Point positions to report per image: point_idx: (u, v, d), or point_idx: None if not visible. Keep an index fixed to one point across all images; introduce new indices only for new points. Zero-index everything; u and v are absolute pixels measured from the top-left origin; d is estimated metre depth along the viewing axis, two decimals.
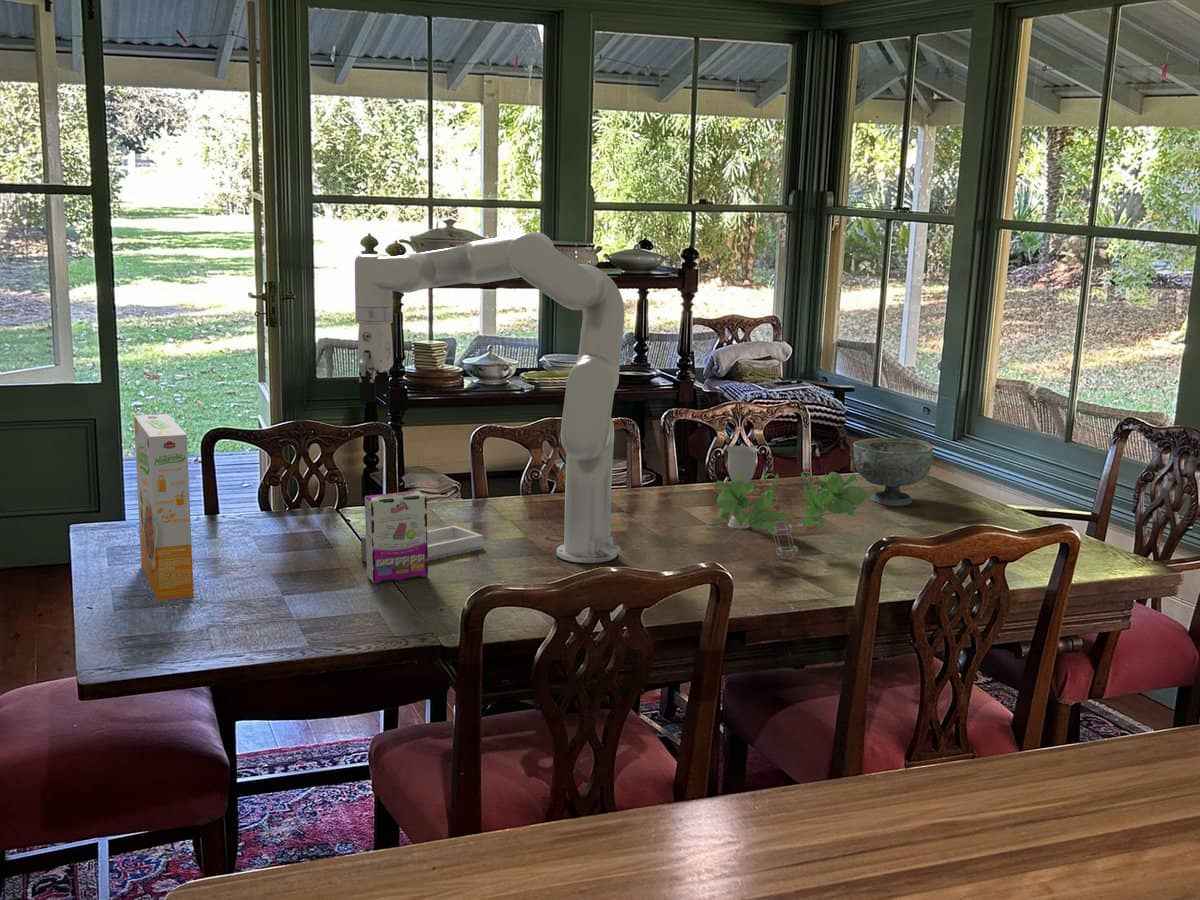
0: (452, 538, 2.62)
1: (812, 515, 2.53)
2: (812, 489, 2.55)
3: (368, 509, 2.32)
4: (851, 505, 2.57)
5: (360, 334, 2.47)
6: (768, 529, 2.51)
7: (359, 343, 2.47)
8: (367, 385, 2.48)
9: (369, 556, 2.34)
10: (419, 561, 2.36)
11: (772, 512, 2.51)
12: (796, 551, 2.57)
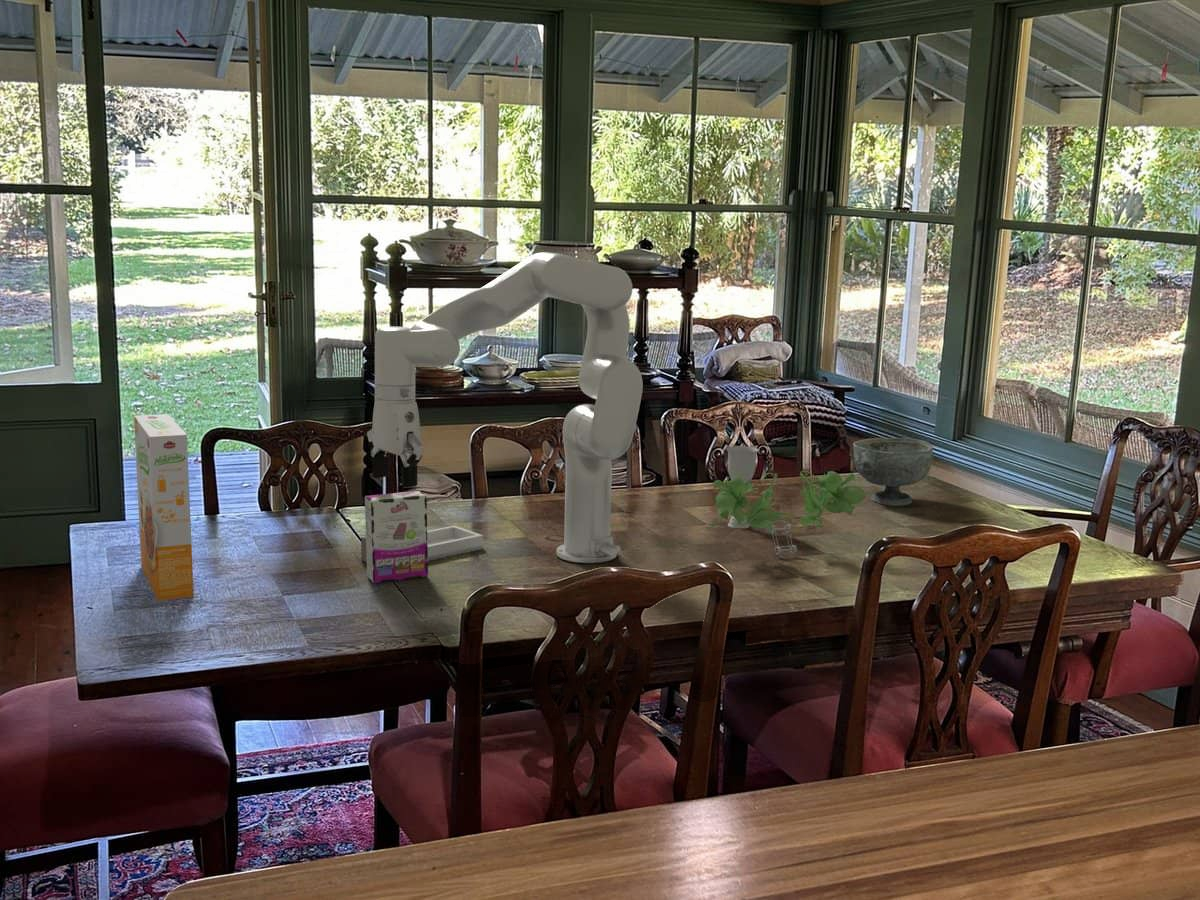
0: (452, 538, 2.62)
1: (811, 514, 2.54)
2: (811, 488, 2.56)
3: (368, 509, 2.32)
4: (849, 504, 2.58)
5: (402, 415, 2.27)
6: (767, 528, 2.52)
7: (401, 425, 2.27)
8: (413, 469, 2.29)
9: (369, 556, 2.34)
10: (419, 561, 2.36)
11: (771, 511, 2.52)
12: (795, 550, 2.58)
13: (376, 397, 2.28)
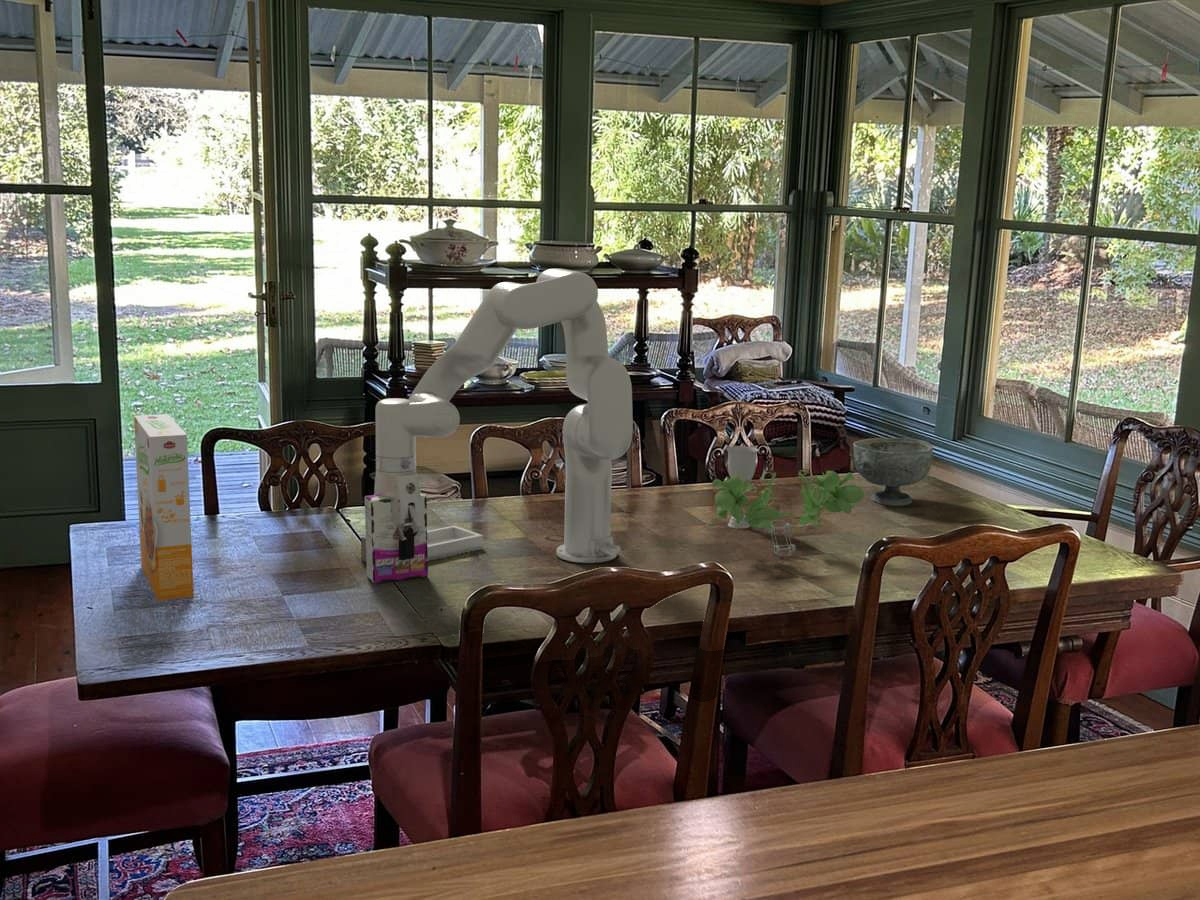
0: (452, 538, 2.62)
1: (809, 513, 2.54)
2: (809, 487, 2.57)
3: (368, 509, 2.32)
4: (848, 503, 2.59)
5: (403, 487, 2.30)
6: (765, 527, 2.52)
7: (402, 496, 2.30)
8: (410, 542, 2.33)
9: (369, 556, 2.34)
10: (419, 561, 2.36)
11: (769, 510, 2.52)
12: (793, 549, 2.58)
13: (377, 469, 2.31)
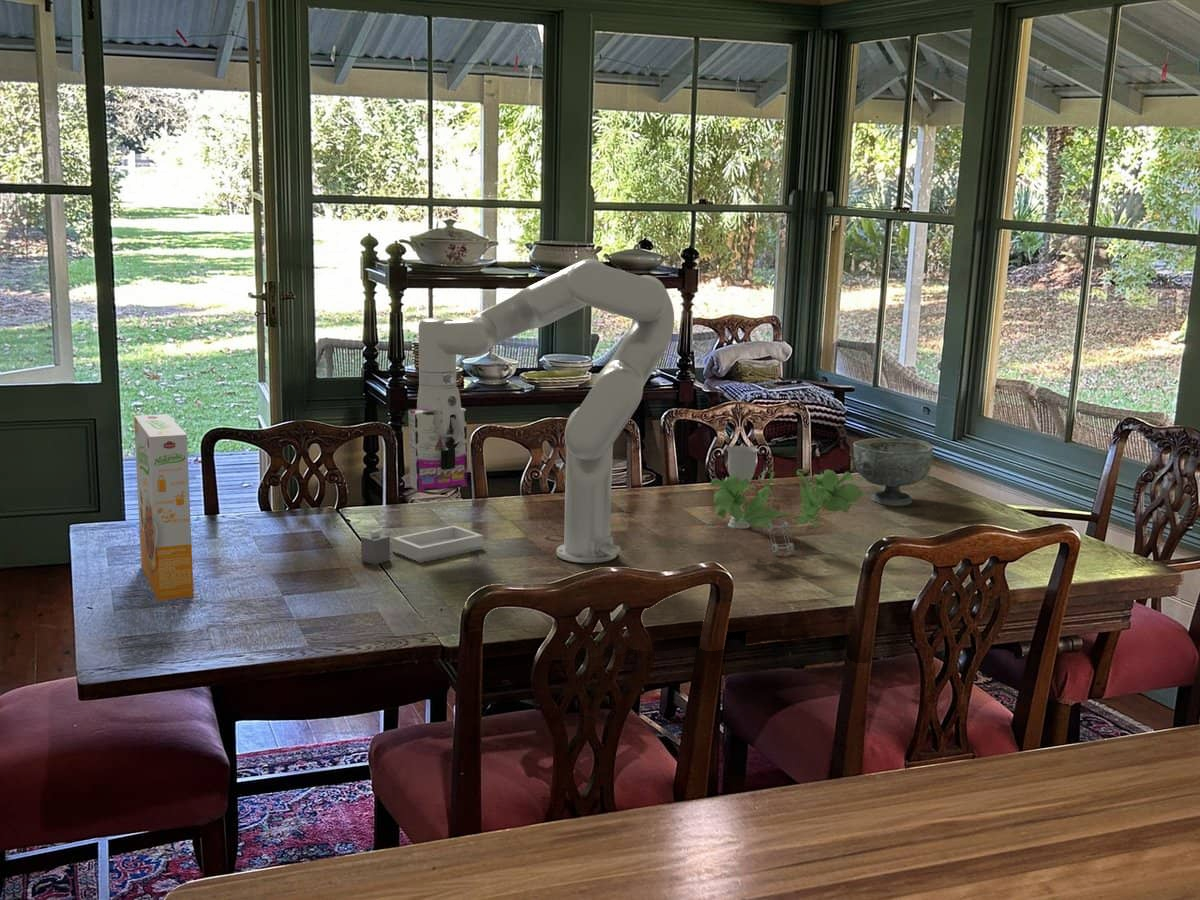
0: (452, 538, 2.62)
1: (807, 512, 2.55)
2: (807, 486, 2.58)
3: (412, 421, 2.48)
4: (846, 502, 2.59)
5: (445, 399, 2.45)
6: (764, 526, 2.53)
7: (445, 408, 2.45)
8: (451, 452, 2.49)
9: (413, 466, 2.50)
10: (459, 471, 2.52)
11: (768, 509, 2.53)
12: (792, 548, 2.59)
13: (421, 383, 2.47)
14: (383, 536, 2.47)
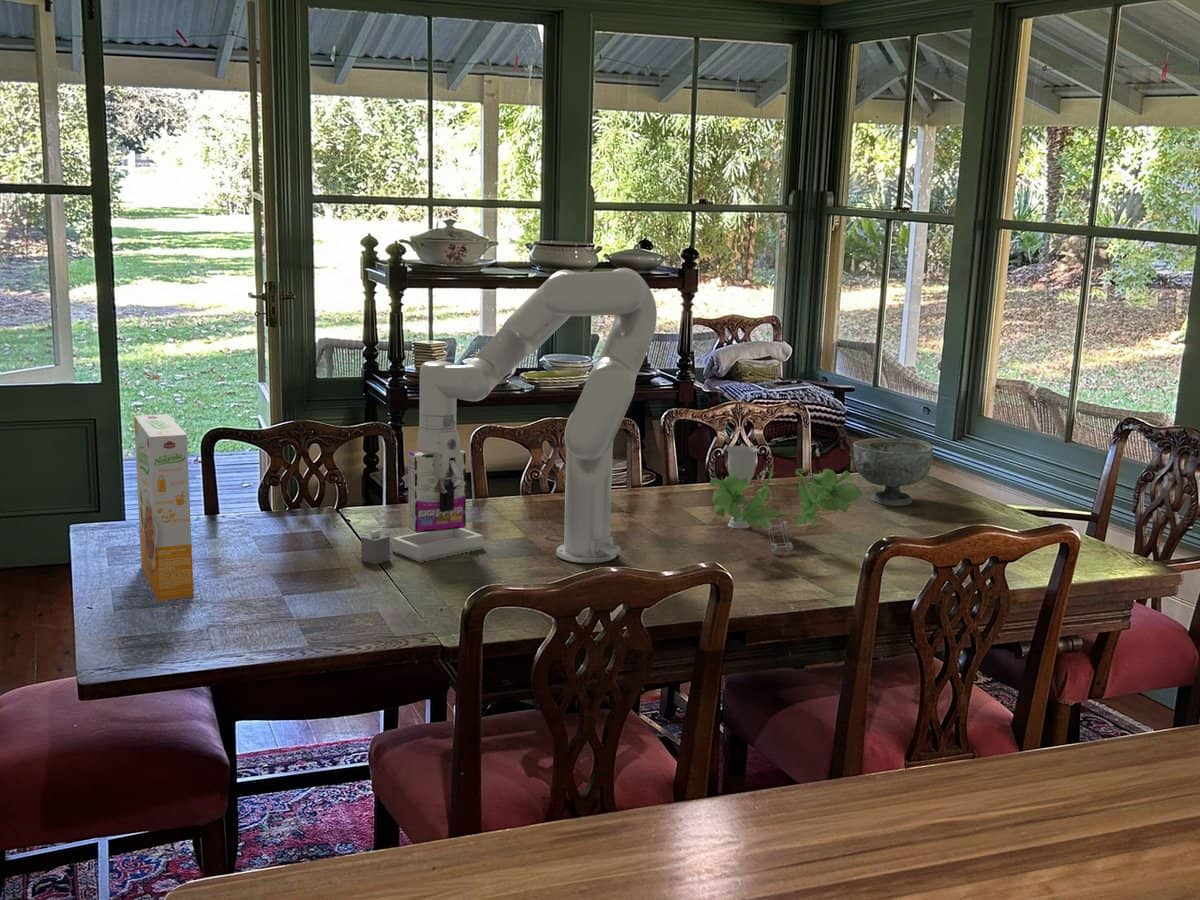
0: (452, 538, 2.62)
1: (806, 511, 2.56)
2: (806, 486, 2.58)
3: (411, 463, 2.49)
4: (845, 502, 2.60)
5: (445, 443, 2.47)
6: (763, 525, 2.54)
7: (444, 452, 2.47)
8: (450, 495, 2.51)
9: (412, 508, 2.51)
10: (457, 513, 2.54)
11: (767, 509, 2.54)
12: (790, 547, 2.60)
13: (421, 426, 2.49)
14: (383, 536, 2.47)
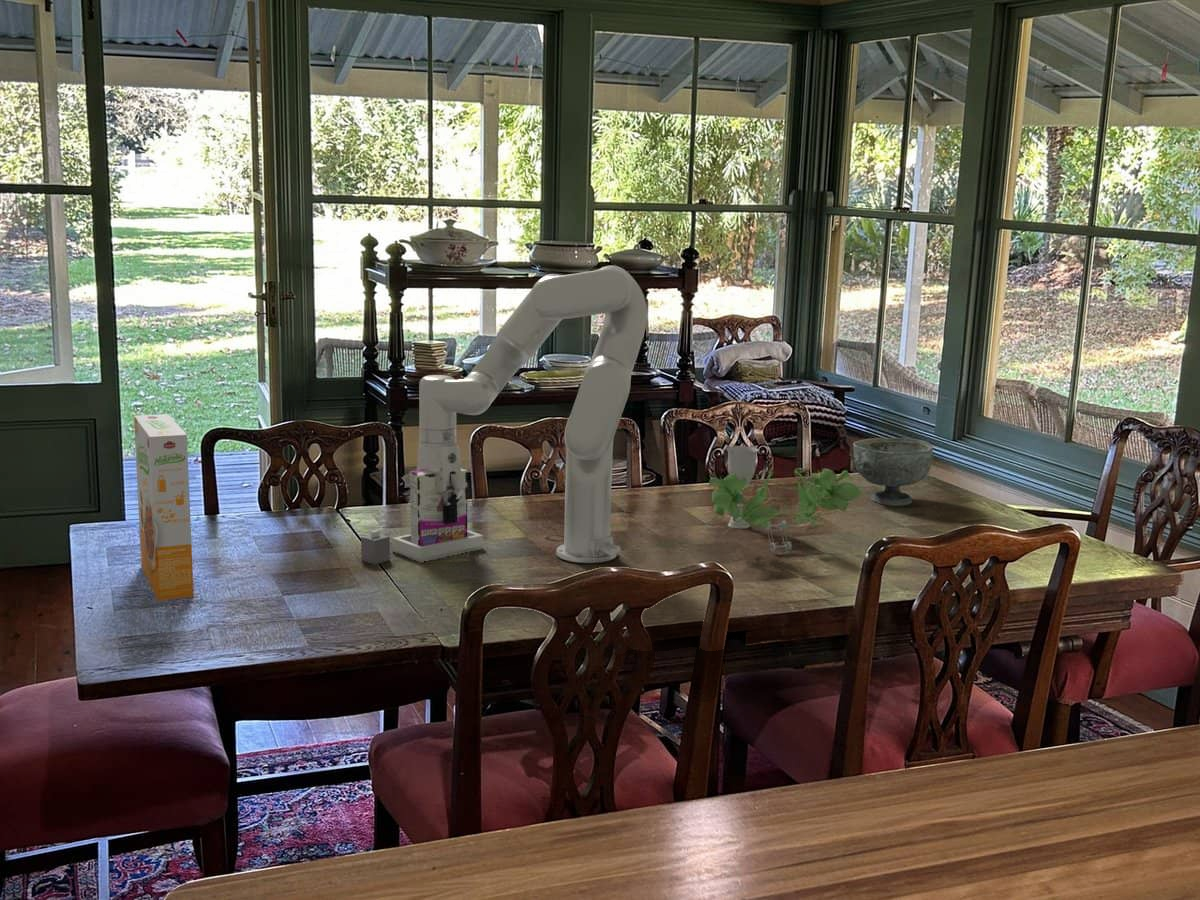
0: None
1: (805, 511, 2.56)
2: (805, 485, 2.59)
3: (414, 483, 2.50)
4: (844, 501, 2.60)
5: (445, 457, 2.48)
6: (762, 525, 2.54)
7: (444, 466, 2.48)
8: (453, 507, 2.51)
9: (414, 527, 2.52)
10: (459, 531, 2.55)
11: (766, 508, 2.54)
12: (789, 546, 2.60)
13: (421, 440, 2.49)
14: (383, 536, 2.47)
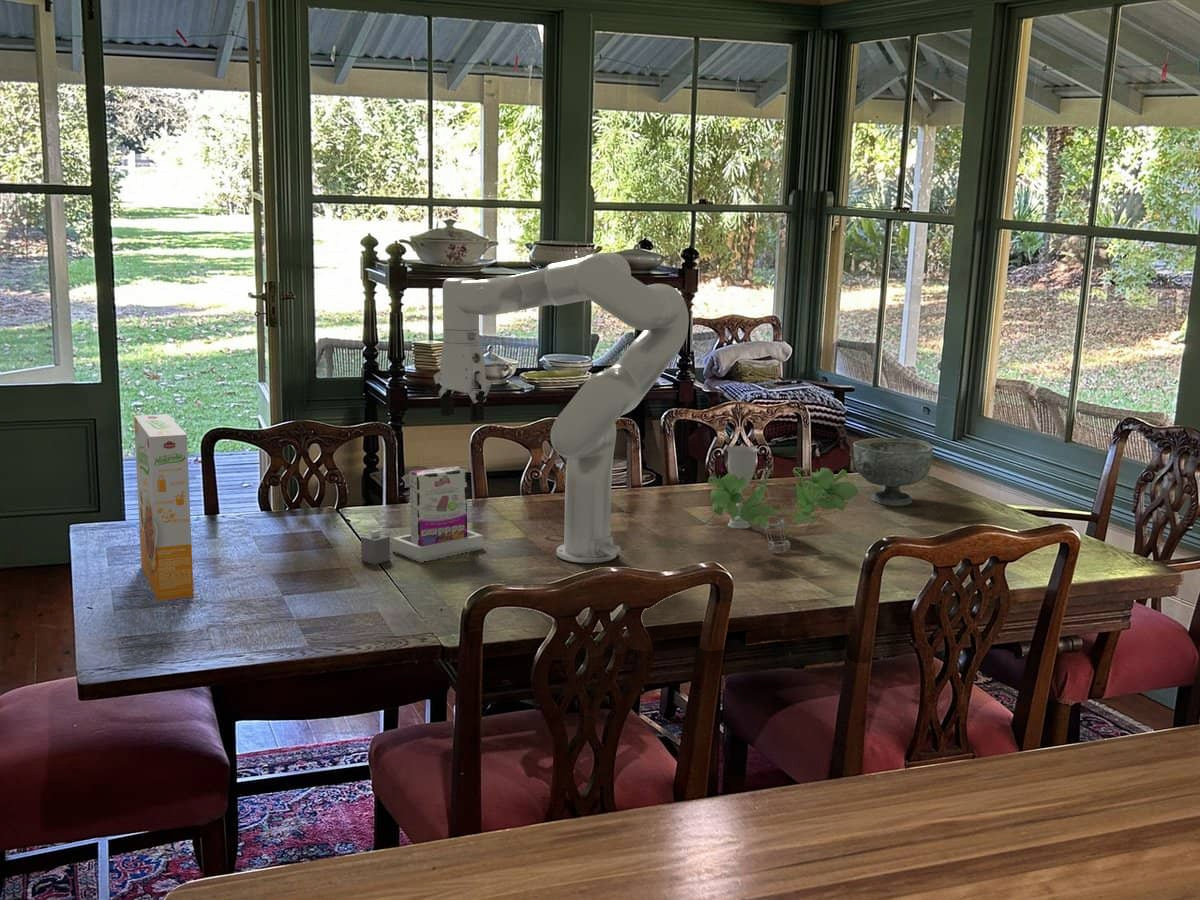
0: None
1: (804, 510, 2.57)
2: (804, 484, 2.60)
3: (413, 483, 2.50)
4: (842, 500, 2.61)
5: (470, 356, 2.53)
6: (760, 524, 2.55)
7: (470, 365, 2.53)
8: (481, 404, 2.56)
9: (414, 527, 2.52)
10: (459, 531, 2.55)
11: (764, 507, 2.55)
12: (788, 545, 2.61)
13: (445, 341, 2.55)
14: (383, 536, 2.47)
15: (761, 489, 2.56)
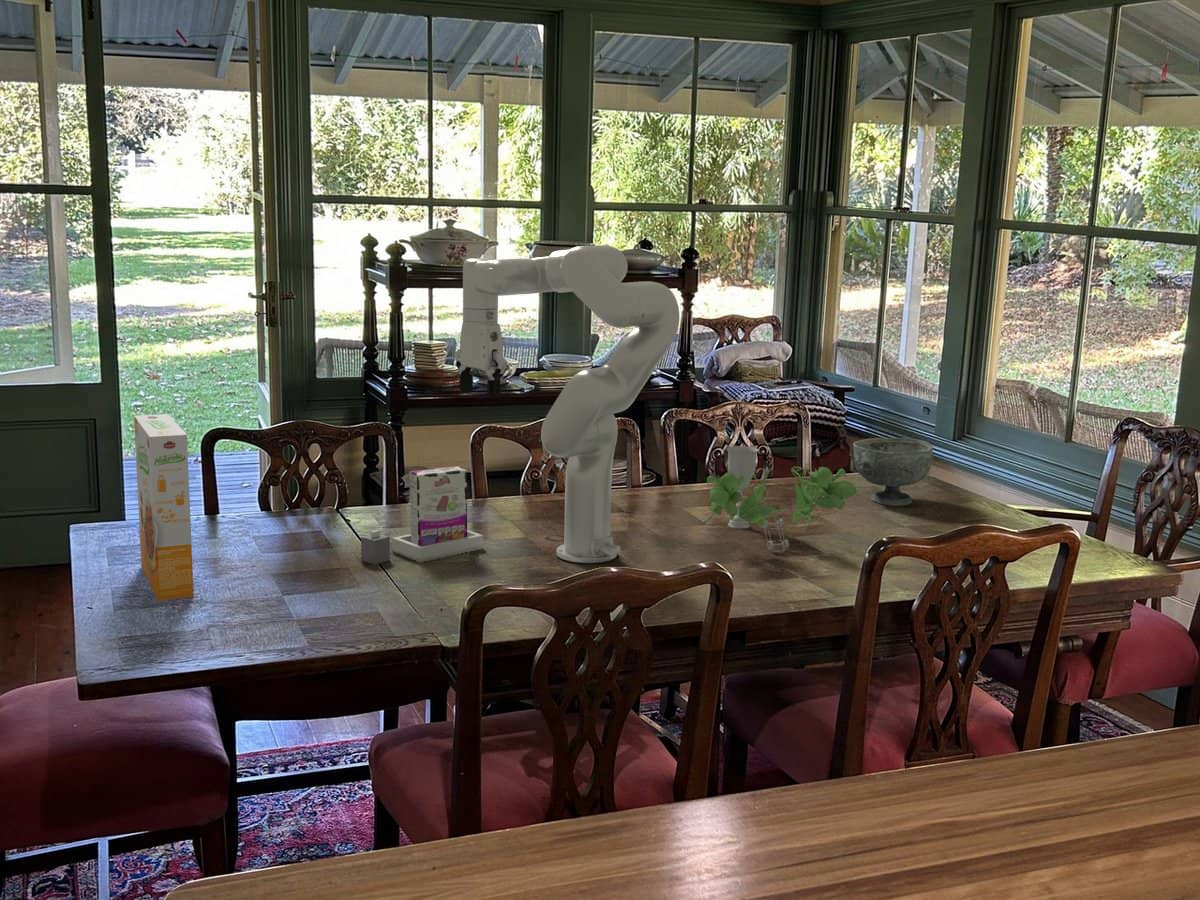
0: None
1: (802, 509, 2.58)
2: (802, 484, 2.60)
3: (413, 483, 2.50)
4: (840, 499, 2.62)
5: (487, 335, 2.60)
6: (759, 523, 2.56)
7: (487, 343, 2.60)
8: (497, 382, 2.63)
9: (414, 527, 2.52)
10: (459, 531, 2.55)
11: (763, 506, 2.56)
12: (787, 545, 2.62)
13: (464, 320, 2.62)
14: (383, 536, 2.47)
15: (760, 488, 2.57)
